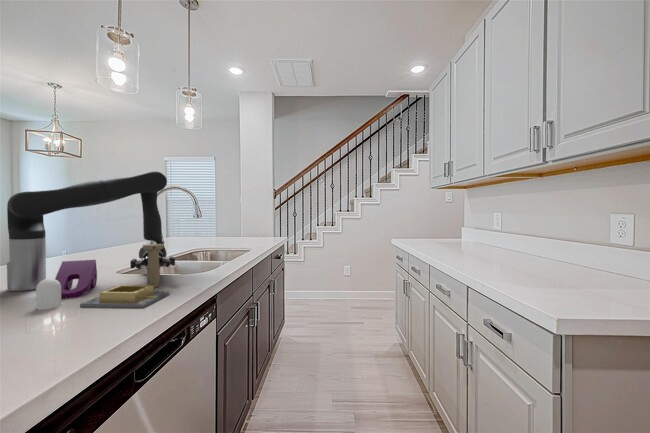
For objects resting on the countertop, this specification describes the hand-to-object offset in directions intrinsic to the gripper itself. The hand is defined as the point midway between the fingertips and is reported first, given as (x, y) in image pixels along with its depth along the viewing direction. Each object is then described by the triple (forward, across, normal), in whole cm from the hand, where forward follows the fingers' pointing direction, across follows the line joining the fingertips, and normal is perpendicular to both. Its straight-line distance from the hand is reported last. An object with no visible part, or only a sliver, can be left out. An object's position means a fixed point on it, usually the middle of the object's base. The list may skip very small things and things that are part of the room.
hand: (153, 265), depth 111 cm
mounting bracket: (-6, -23, +8) cm, 25 cm away
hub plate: (+13, -7, +8) cm, 17 cm away
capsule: (+10, -26, +8) cm, 29 cm away
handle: (-2, 0, +8) cm, 8 cm away
